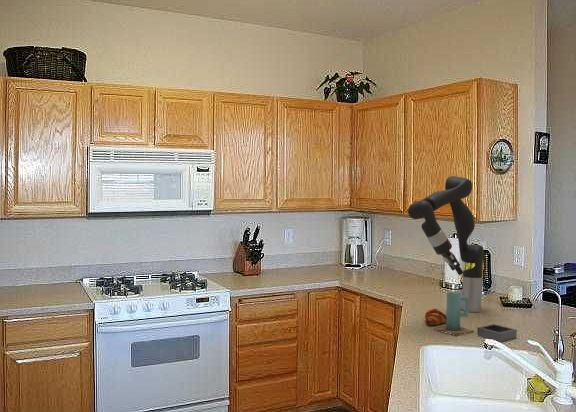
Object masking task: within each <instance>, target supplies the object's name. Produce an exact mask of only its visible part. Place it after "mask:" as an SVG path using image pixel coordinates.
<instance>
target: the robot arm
mask: <svg viewBox="0 0 576 412" xmlns="http://www.w3.org/2000/svg"><path fill="white" fill-rule="evenodd" d="M472 190H473V183H472V181H471V179H469V178H466V177H460V176H456V175H452V176H451V175H450V176H448V177H447V178H446V180H445V185H444V190H439V191H436V192H433V193H431V194H429V195H428V196H426V197H424V198H423V199H421V200H417V201H415V202H414V203H412V204H410V205H409V206H408V209H407V215H408V216H409V217H410V218H411V219H413V220H420V219H423V218H424V220H425V221H424V222H422V224H421V226H420V227H421V229H422V232H423V233H424V234H425V237H426V238H427V241H428V242H429V244H430V246H431V248H432V249H433V250H434V252H435V253H436V255H439V256H441V257H442V259H443V261H444V262H446V264H448V266H449V268H450V269H451V270H452V271H455V272H456V273H457V275H458V276H461V275H462V290H460V293H461V297H468V313H479V312H482V296H483V295H482V293H483V290H482V289H483V269H484V267H483V266H484V256H485V255H484V254H485V253H484V251H485V250H484V247H483V246H482V245H478V244H468V240H469V238H470V236H471V235H472V233H473V232H474V231H475V230H474V229H475V226H476V225H475V219H474V215H473V213H472V211H471V210H470V208H469V207H468V206H467V204H466V203H465V202H464V201H463V200H462V199H465V198H467V197H468V196H469V195H471V193H472ZM448 204H449V206H450V209H451V213H452V217H453V218H452V219H453V223H454V227H455V231H456V236H457V239H458V240H457V241H458V248H459V255H460V256H459V257H460V260H461V262H463V263H468V264H474V266H473V267H471V268H467V269H464V270H462V268H461V264H460V262H459V261H458V259H457V258H456V255H455V254H454V253H453V252H452V251H451V249H452V247H453V245H452V243H451V241H450V240H449V238H448V236H447V235H446V233H445V232H444V231H443V229H442V228H441V226H440V224H439V223H438V221H437V218H436V214H435V211H437V210H439V209H440V208H442V207H443V206H446V205H448ZM455 263H456V264H455ZM461 310H462V311H464V312H465V301H461Z"/></svg>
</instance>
